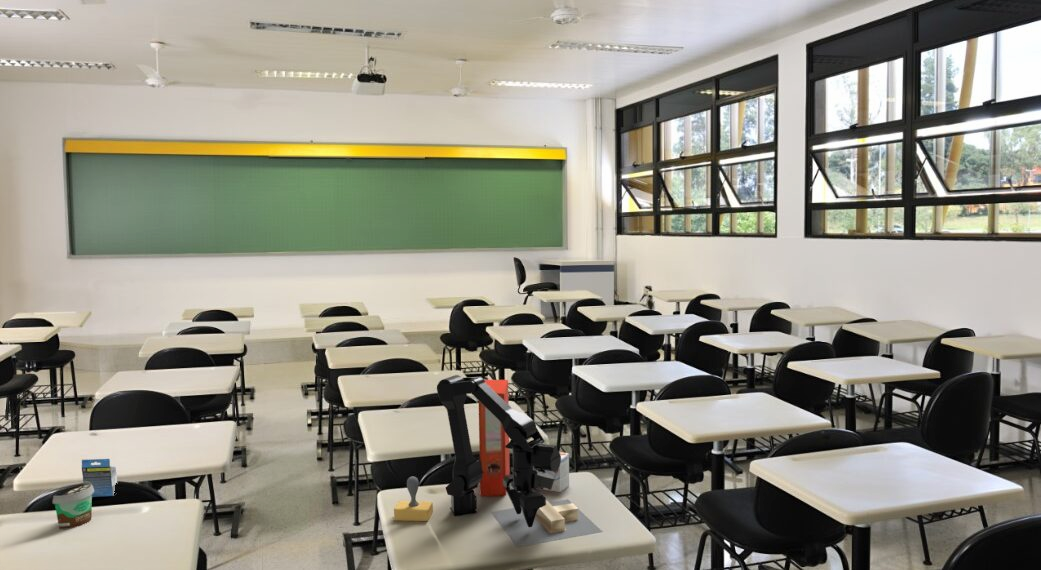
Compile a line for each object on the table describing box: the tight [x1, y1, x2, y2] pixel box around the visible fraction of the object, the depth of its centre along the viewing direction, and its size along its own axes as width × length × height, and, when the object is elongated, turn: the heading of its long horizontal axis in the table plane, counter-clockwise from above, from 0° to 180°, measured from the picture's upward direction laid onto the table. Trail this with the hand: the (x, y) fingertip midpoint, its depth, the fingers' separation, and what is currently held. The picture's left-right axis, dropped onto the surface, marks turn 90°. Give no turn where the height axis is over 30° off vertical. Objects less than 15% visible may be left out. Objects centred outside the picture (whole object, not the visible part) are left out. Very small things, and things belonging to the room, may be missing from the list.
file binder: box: [478, 379, 511, 498], centre depth 236 cm, size 8×17×32 cm, turn 177°
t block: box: [536, 499, 579, 532], centre depth 210 cm, size 10×14×3 cm
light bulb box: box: [534, 451, 570, 493], centre depth 235 cm, size 11×7×11 cm, turn 62°
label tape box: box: [81, 458, 118, 498], centre depth 237 cm, size 9×4×12 cm, turn 94°
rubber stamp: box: [393, 476, 434, 522], centre depth 215 cm, size 10×6×12 cm, turn 83°
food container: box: [52, 481, 94, 530], centre depth 217 cm, size 12×6×10 cm, turn 168°
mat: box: [490, 498, 603, 548], centre depth 209 cm, size 24×24×1 cm
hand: (524, 520), depth 207 cm, fingers open, 9 cm apart
